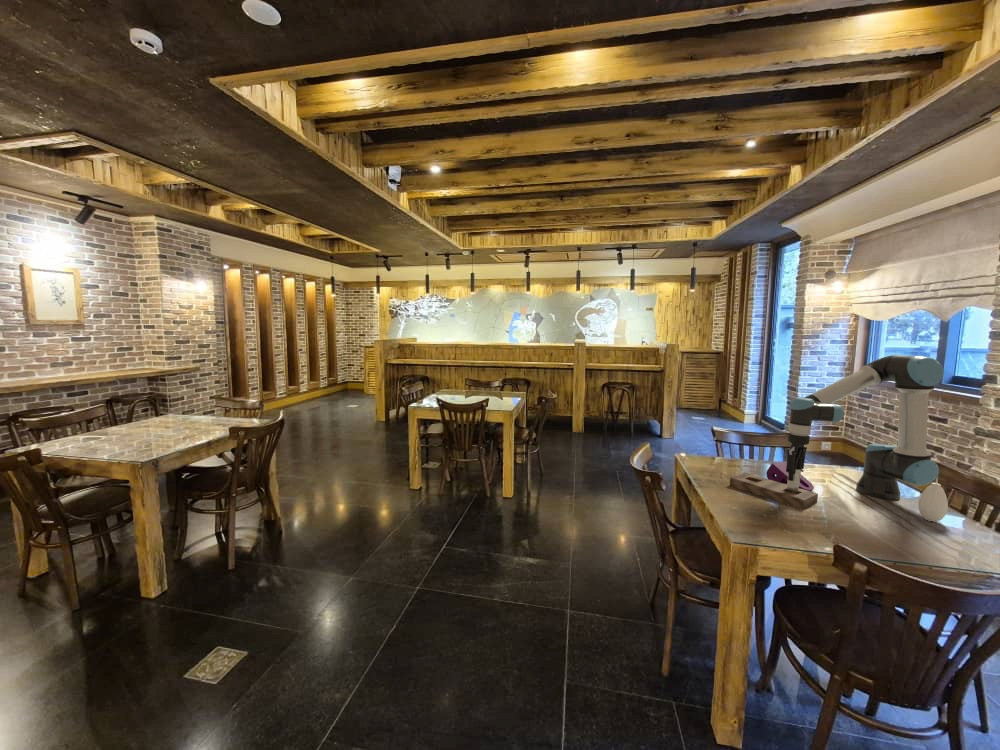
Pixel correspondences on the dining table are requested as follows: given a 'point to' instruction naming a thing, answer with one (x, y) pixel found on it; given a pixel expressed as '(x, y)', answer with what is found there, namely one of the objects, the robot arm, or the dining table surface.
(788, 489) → the steel pin
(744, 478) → the mount plate
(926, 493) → the white rounded egg-shaped figurine
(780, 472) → the mounting bracket
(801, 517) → the dining table surface
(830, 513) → the dining table surface
